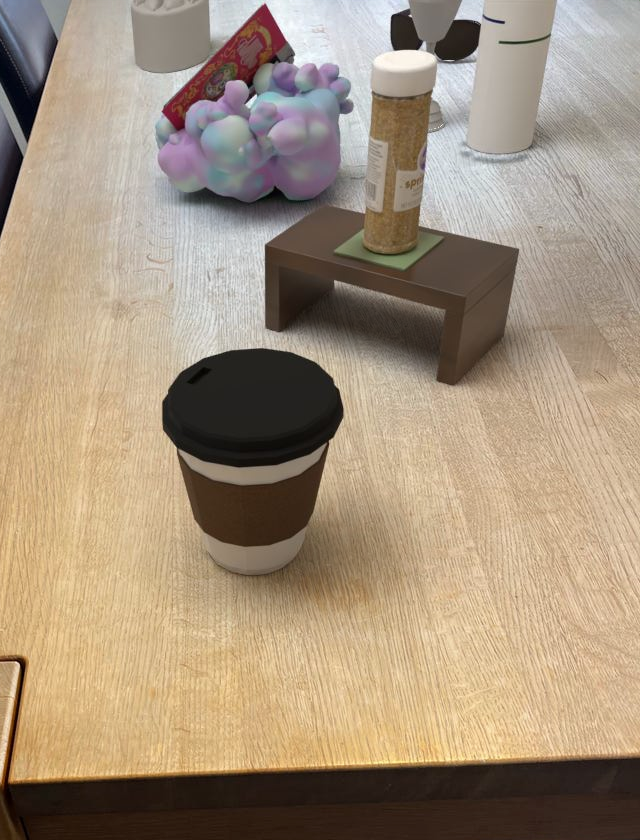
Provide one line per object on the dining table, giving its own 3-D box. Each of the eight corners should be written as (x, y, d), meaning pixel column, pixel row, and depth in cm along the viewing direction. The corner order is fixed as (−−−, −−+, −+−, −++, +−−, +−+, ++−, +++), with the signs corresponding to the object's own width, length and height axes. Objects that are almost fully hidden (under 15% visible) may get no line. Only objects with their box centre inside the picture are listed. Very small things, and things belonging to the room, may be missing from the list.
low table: (504, 335, 84) (520, 245, 78) (453, 385, 79) (466, 294, 74) (320, 285, 93) (323, 201, 87) (264, 327, 88) (264, 241, 82)
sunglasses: (377, 55, 137) (380, 13, 133) (431, 23, 145) (435, -18, 141) (471, 67, 130) (477, 24, 127) (522, 32, 138) (528, -9, 135)
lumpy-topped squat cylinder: (215, 42, 146) (213, -28, 140) (199, 71, 138) (196, -1, 132) (146, 44, 149) (140, -25, 142) (126, 73, 140) (119, 2, 134)
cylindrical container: (492, 125, 116) (532, -146, 98) (545, 139, 112) (597, -142, 94) (452, 143, 113) (486, -132, 95) (505, 158, 109) (551, -127, 91)
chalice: (380, 122, 119) (393, -58, 107) (426, 109, 121) (444, -70, 108) (418, 140, 115) (436, -46, 102) (466, 126, 116) (490, -59, 104)
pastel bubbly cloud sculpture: (286, 203, 94) (339, -11, 89) (94, 165, 102) (131, -34, 96) (348, 236, 112) (396, 59, 106) (180, 201, 120) (216, 35, 114)
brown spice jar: (419, 256, 78) (439, 66, 69) (359, 256, 79) (371, 69, 70) (418, 230, 82) (437, 45, 72) (360, 231, 82) (372, 48, 73)
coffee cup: (141, 566, 67) (122, 413, 59) (226, 479, 73) (220, 328, 65) (285, 623, 62) (288, 465, 54) (363, 524, 68) (376, 368, 60)
